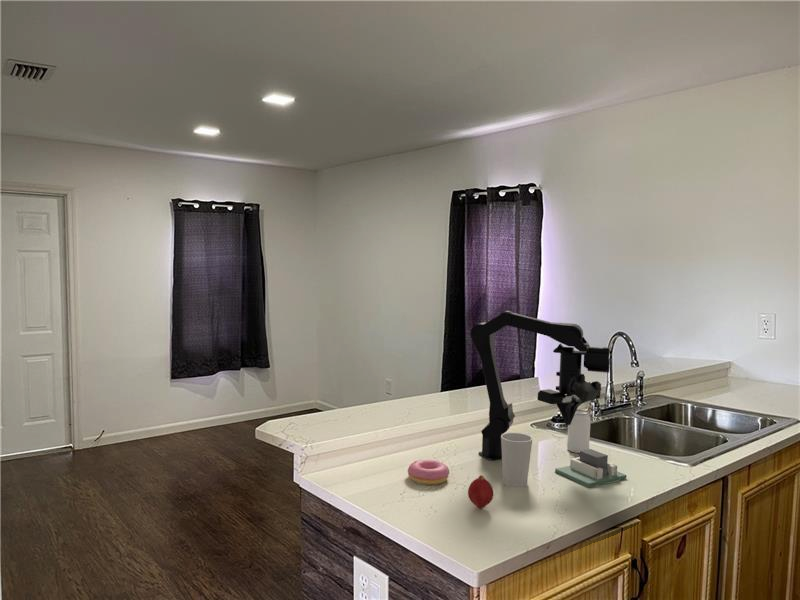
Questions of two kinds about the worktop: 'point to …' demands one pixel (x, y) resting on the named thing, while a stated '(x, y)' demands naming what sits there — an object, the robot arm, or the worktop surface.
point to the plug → (594, 459)
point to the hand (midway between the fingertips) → (567, 424)
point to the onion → (480, 492)
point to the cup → (515, 458)
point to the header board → (590, 473)
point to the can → (579, 432)
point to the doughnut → (428, 472)
